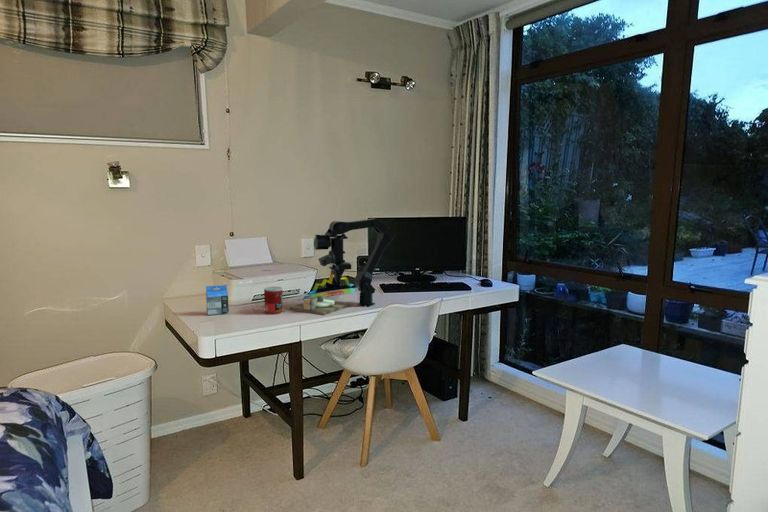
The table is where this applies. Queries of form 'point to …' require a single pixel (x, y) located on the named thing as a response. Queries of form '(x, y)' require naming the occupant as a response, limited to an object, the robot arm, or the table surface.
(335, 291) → the chart
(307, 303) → the flange plate
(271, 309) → the canned food
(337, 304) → the beige square tray
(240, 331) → the table surface
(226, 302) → the label tape cartridge
